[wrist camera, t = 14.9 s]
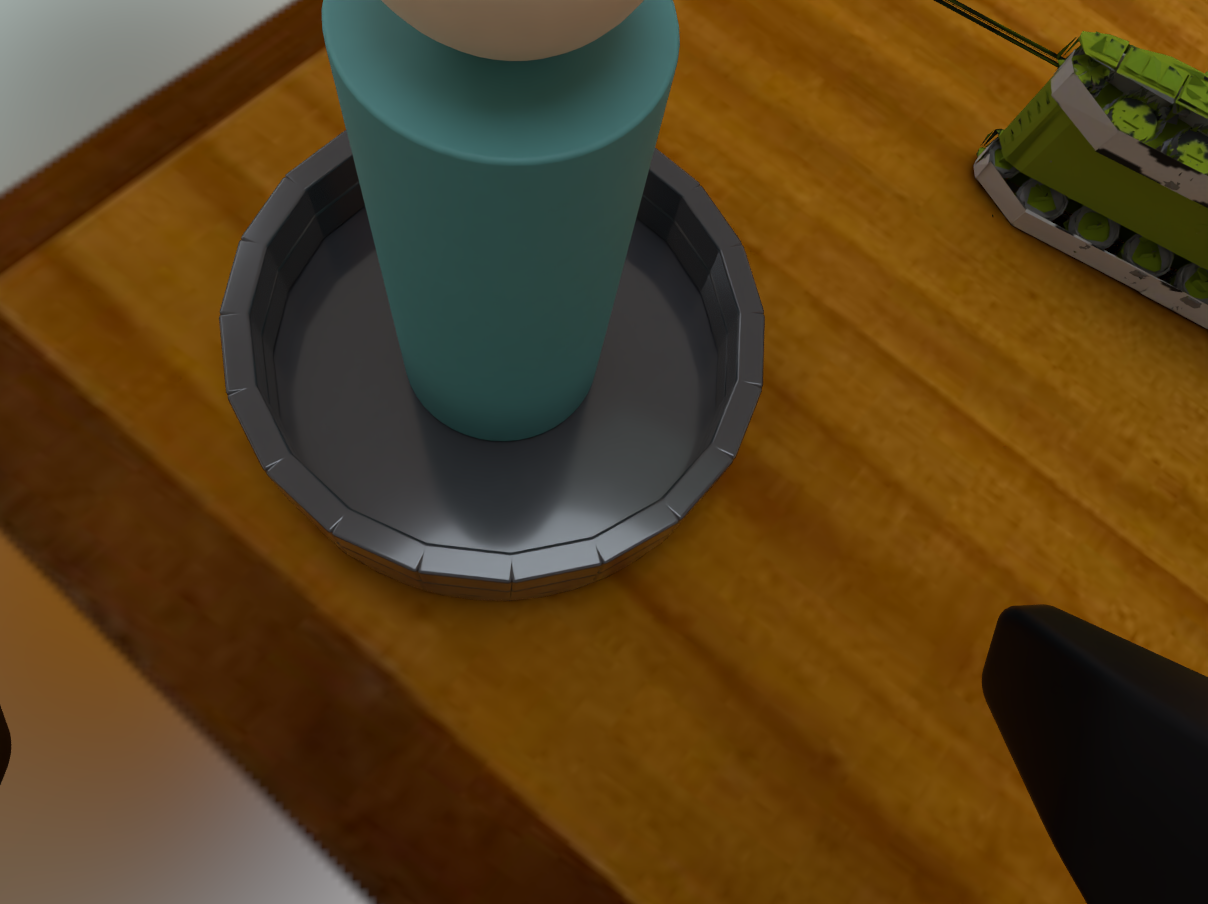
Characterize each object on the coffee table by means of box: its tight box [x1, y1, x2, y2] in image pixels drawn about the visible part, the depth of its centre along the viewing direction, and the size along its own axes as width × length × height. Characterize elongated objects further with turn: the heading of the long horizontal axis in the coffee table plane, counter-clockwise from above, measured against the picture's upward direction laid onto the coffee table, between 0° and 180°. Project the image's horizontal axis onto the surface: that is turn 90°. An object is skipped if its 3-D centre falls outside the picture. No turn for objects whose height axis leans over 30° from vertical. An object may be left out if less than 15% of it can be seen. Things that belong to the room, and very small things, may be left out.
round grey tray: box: [219, 130, 765, 601], centre depth 19 cm, size 11×11×2 cm
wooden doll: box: [322, 0, 680, 441], centre depth 13 cm, size 4×4×14 cm
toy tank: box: [934, 0, 1208, 329], centre depth 21 cm, size 7×19×10 cm
